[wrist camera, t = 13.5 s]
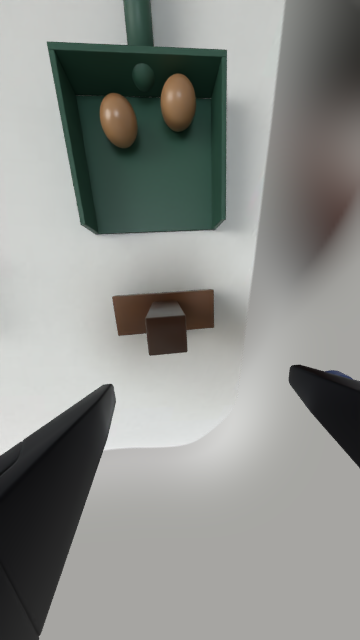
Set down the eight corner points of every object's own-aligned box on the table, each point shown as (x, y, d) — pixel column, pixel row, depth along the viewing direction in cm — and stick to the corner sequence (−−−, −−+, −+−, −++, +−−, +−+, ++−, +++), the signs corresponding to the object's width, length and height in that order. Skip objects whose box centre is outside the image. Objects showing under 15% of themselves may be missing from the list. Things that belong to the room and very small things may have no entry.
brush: (206, 288, 20) (248, 296, 10) (206, 320, 21) (245, 358, 11) (120, 293, 19) (73, 309, 9) (125, 327, 20) (87, 374, 10)
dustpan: (215, 229, 18) (225, 219, 15) (95, 234, 17) (80, 224, 14) (213, -51, 13) (228, -151, 10) (44, -67, 12) (4, -183, 9)
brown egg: (143, 135, 14) (145, 135, 16) (119, 76, 12) (124, 86, 14) (114, 157, 14) (119, 155, 16) (86, 105, 12) (95, 110, 14)
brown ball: (206, 89, 13) (198, 133, 16) (187, 53, 13) (183, 104, 16) (172, 105, 13) (171, 147, 16) (152, 68, 12) (155, 117, 15)
